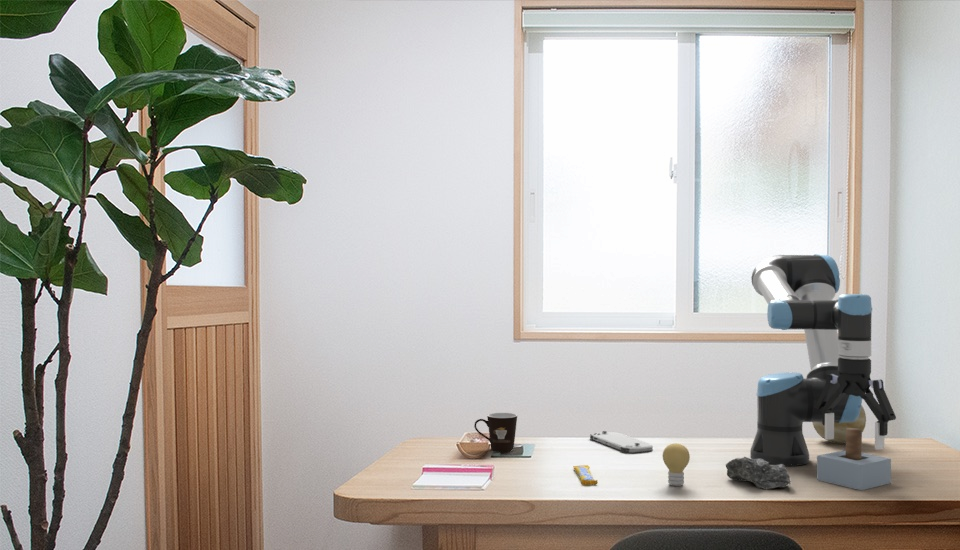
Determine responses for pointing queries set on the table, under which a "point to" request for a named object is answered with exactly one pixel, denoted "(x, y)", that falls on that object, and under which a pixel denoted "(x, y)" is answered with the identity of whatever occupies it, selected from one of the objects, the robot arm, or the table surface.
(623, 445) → the handheld gaming console
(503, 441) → the coffee mug
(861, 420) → the decorative ball
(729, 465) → the rock
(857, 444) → the peg
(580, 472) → the candy bar
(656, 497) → the table surface
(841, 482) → the socket
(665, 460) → the light bulb
